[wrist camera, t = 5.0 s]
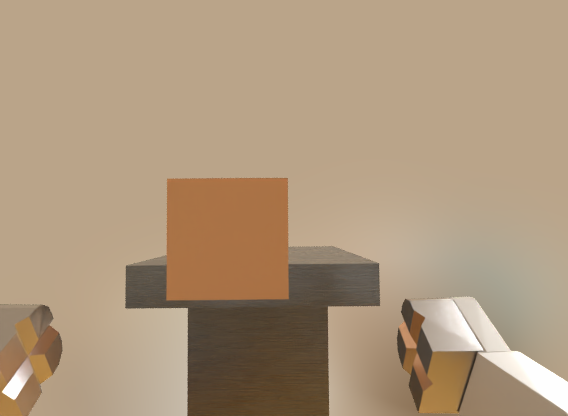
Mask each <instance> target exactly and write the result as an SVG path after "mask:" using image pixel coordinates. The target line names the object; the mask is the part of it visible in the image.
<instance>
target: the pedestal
mask: <svg viewBox="0 0 568 416" xmlns="http://www.w3.org/2000/svg"><path fill="white" fill-rule="evenodd" d="M288 279H289V299H258V300H166V295H167V255H166V256H162V257H158V258H154V259H150V260H146V261H143V262H139V263H134V264H131V265H127V266H126V307H125V308H188V416H329V380H328V378H329V376H328V306H380V292H379V291H380V289H379V263H377V262H374V261H371V260H368V259H366V258H363V257H360V256H358V255H355V254H352V253H349V252H347V251H344V250H341V249H339V248H336V247H331V246H329V247H288Z"/></svg>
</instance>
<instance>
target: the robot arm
mask: <svg viewBox="0 0 568 416" xmlns="http://www.w3.org/2000/svg"><path fill="white" fill-rule="evenodd" d="M401 313H402V315H403V318H404V322H403V323H402V324H401V325H400V326H399V328H398V336H397V345H398V353H399V358H400V361H401V364H402V368H403V369H404V370H405V371H407V372H408V373H409V374H410V375H411V377H410V382H409V388H410V391H411V393H412V396H413V399H414V402H415V405H416V407H417V410H418V413H459V414H458V415H459V416H568V382H566V381H565V380H563V379H562V378H560V377H558V376H557V375H555V374H554V373H552V372H550V371H549V370H547V369H546V368H544V367H543V366H541V365H539V364H537V363H536V362H534V361H533V360H531V359H530V358H528V357H526V356H525V355H523V354H522V353H520V352H519V351H511V350H510V349H509V347H508V346H507V345H506V343H505V342H504V340H503V339H502V337H501V336H500V334H499V333H498V331H497V330H496V329H495V327H494V326H493V324H492V323H491V321H490V320H489V318H488V317H487V315H486V314H485V313H484V311H483V310H482V309H481V307H480V305H479V304H478V302H477V301H476V300H475V299H474V298H472V297H450V298H427V299H425V298H423V299H405V301H404V302H403V305H402V311H401ZM52 320H53V316H52V313H51V312H50V309H49V307H47V306H45V305H8V304H0V416H28V415H29V413H30V411H31V410H32V408H33V407H34V405H35V403H36V402H37V400H38V398H39V397H40V395H41V393H42V390H41V385H40V384H41V383H42V382H44V381H45V380H46V379H48V378H49V377H50V376H52V375H53V373H54V372H55V370H56V368H57V366H58V365H59V362H60V358H61V354H62V340H61V337H60V334H59V332H57V331H56V330H55V329H53V328H52V327H51V326H50V323H51V322H52Z"/></svg>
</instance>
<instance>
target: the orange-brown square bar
mask: <svg viewBox="0 0 568 416" xmlns="http://www.w3.org/2000/svg"><path fill="white" fill-rule="evenodd" d="M258 299H289V279H288V178H223V179H222V178H221V179H220V178H212V179H211V178H210V179H209V178H207V179H167V295H166V300H258Z"/></svg>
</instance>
